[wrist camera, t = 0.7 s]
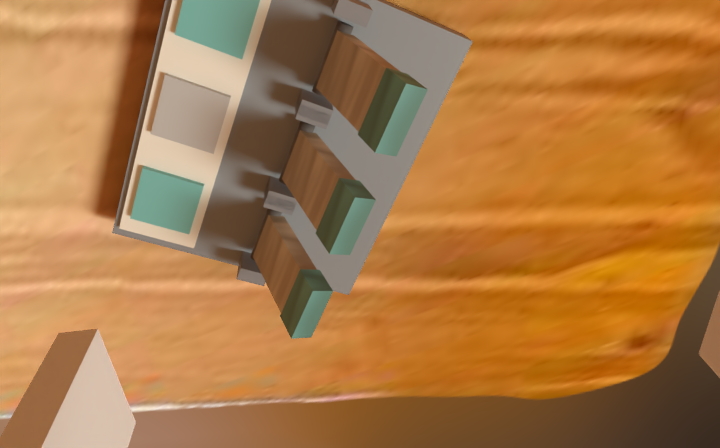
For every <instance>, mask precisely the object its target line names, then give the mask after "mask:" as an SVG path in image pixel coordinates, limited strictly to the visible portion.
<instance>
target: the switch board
mask: <svg viewBox="0 0 720 448" xmlns="http://www.w3.org/2000/svg"><path fill="white" fill-rule="evenodd" d="M338 20H339V21H342V22H345V23H347V24H349V25H351V26H353V30H352V33H351V35H354V36H355V37H357V38H358V39H359V40H361V41H362V42H363V43H364V44H366V45H367V46H368V47H370V48H371V49H372V50H373V51H375V52H376V53H377V54H379V55H380V56H381V57H382V58H384V59H385V60H386V61H388V62H389V63H390V64H391V65H393V66H394V67H395V68H397V69H398V70H399V71H400V72H403V73H407V74H408V75H410V76H411V77H412V78H414V79H415V80H416V81H418V82H419V83H420V84H421V85H423V86H424V87H425V88H427V89H428V90H427V93H426V95H425V97H424V99H423V101H422V103H421V105H420V107H419V110H418V112H417V114H416V116H415V118H414V120H413V122H412V124H411V127H410V129H409V131H408V133H407V135H406V137H405V139H404V141H403V143H402V146H401V148H400V150H399V152H398V154H397V156H390V155H384V154H379V153H375V152H374V151H373V150H372V149H371V148H370V147H369V146H368V145H367V144H366V143H365V142H364V141H363V140H362V139H361V138H360V137H359V136H358V131H357V130H356V129H355V128H354V127H353V126H352V125H351V124H350V122H349V121H348V120H347V119H346V118H345V117H344V116H343V115H342V114H341V113H340V112H339V111H338V110H337V109H336V108H335V107H334V106H333V105H332V104H331V103H330V102H329V101H328V100H327V99H326V98H325V97H323V96H320V95H318V94H316V93H314V92H313V91H312V89H313V86H314V83H315V80H316V78H317V75H318V72H319V70H320V67H321V64H322V62H323V59H324V56H325V53H326V51H327V48H328V45H329V43H330V40H331V37H332V35H333V32H334V29H335V27H336V24H337V21H338ZM472 42H473V41H471V40H470V39H469V38H468V37H466V36H465V35H463V34H461V33H459V32H457V31H454V30H452V29H450V28H447V27H445V26H443V25H440V24H438V23H436V22H433V21H431V20H429V19H427V18H424V17H422V16H420V15H417V14H415V13H413V12H410V11H408V10H406V9H403V8H401V7H399V6H397V5H394V4H392V3H390V2H387V1H385V0H165V3H164V8H163V12H162V17H161V21H160V25H159V30H158V34H157V39H156V43H155V47H154V52H153V56H152V61H151V65H150V69H149V74H148V78H147V83H146V87H145V91H144V96H143V100H142V105H141V109H140V113H139V118H138V122H137V127H136V131H135V135H134V140H133V144H132V149H131V153H130V158H129V162H128V166H127V171H126V175H125V180H124V184H123V188H122V193H121V197H120V202H119V206H118V210H117V215H116V219H115V224H114V228H113V232H112V233H115V234H119V235H122V236H126V237H130V238H134V239H138V240H142V241H145V242H149V243H153V244H157V245H161V246H164V247H168V248H172V249H176V250H180V251H183V252H187V253H191V254H195V255H199V256H202V257H206V258H210V259H214V260H218V261H221V262H225V263H229V264H233V265H237V266H239V267H238V274H237V279H238V280H242V281H246V282H250V283H254V284H258V285H262V286H264V284H265V280H264V278H263V276H262V274H261V272H260V270H259V268H258V266H257V264H256V262H255V261H254V260H252V259H251V257H250V256H251V253H252V250H253V247H254V245H255V242H256V239H257V237H258V234H259V231H260V229H261V226H262V223H263V221H264V218H265V215H266V212H267V210H268V209H272V210H275V211H278V212H282V214H281V216H284V217H285V219H286V220H287V222H288V223H289V225H290V227H291V228H292V230H293V232H294V233H295V235H296V236H297V238H298V240H299V241H300V243H301V244H302V246H303V248H304V249H305V251H306V253H307V254H308V256H309V257H310V259H311V261H312V262H313V264H314V265H315V267H316V269H317V270H320V271H321V272H322V274H323V276H324V277H325V279H326V280H327V282H328V284H329V285H330V287H331V288H332V290H333V291H336V292H339V293H343V294H347V295H349V293H350V291H351V289H352V287H353V285H354V283H355V281H356V279H357V277H358V275H359V273H360V271H361V269H362V267H363V265H364V263H365V260H366V258H367V256H368V254H369V252H370V250H371V248H372V246H373V244H374V242H375V240H376V238H377V236H378V234H379V232H380V230H381V228H382V226H383V224H384V222H385V220H386V218H387V216H388V213H389V211H390V209H391V207H392V205H393V203H394V201H395V199H396V197H397V195H398V193H399V191H400V189H401V187H402V185H403V183H404V181H405V179H406V177H407V175H408V173H409V171H410V168H411V166H412V164H413V162H414V160H415V158H416V156H417V154H418V152H419V150H420V148H421V146H422V144H423V142H424V140H425V138H426V136H427V134H428V132H429V130H430V128H431V126H432V124H433V121H434V119H435V117H436V115H437V113H438V111H439V109H440V107H441V105H442V103H443V101H444V99H445V97H446V95H447V93H448V91H449V89H450V87H451V85H452V83H453V81H454V79H455V77H456V74H457V72H458V70H459V68H460V66H461V64H462V62H463V60H464V58H465V56H466V54H467V52H468V50H469V48H470V46H471V44H472ZM300 121H303V122H306V123H309V124H311V125H314V126H315V129H314V131H313V133H317V135H318V136H319V137H320V138H321V139H322V140H323V142H324V143H325V144H326V145H327V146H328V148H329V149H330V150H331V151H332V152H333V153H334V155H335V156H336V157H337V158H338V159H339V161H340V162H341V163H342V164H343V165H344V166H345V168H346V169H347V170H348V171H349V172H350V174H351V175H352V176H353V177H354V178H355V180H359V181H360V182H361V183H362V184H363V185H364V186H365V188H366V189H367V190H368V191H369V192H370V193H371V195H372V196H373V197H374V198H375V199H376V201H375V203H374V205H373V207H372V209H371V211H370V214H369V216H368V218H367V220H366V222H365V224H364V226H363V228H362V231H361V233H360V235H359V237H358V239H357V241H356V243H355V245H354V248H353V250H352V252H351V254H350V255H336V254H329V253H328V251H327V250H326V248H325V247H324V245H323V244H322V242H321V241H320V239H319V238H318V236H317V235H316V231H317V230H316V229H315V227H314V226H313V224H312V223H311V221H310V220H309V218H308V217H307V215H306V214H305V212H304V211H303V210H302V208H301V207H300V205H299V204H298V202H297V201H296V199H295V198H294V196H293V195H292V193H291V192H290V190H289V189H288V187H287V186H286V185H284V184H282V183H281V182H280V181H279V177H280V175H281V172H282V169H283V167H284V164H285V161H286V159H287V156H288V153H289V150H290V148H291V145H292V142H293V140H294V137H295V134H296V132H297V129H298V126H299V124H300Z"/></svg>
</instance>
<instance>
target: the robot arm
mask: <svg viewBox="0 0 720 448" xmlns="http://www.w3.org/2000/svg"><path fill="white" fill-rule="evenodd" d="M699 355H700V356H701V357H702V358H703V359H704V360H705V362H706V363H707V364H708V365H709V366H710V367H711V369H712V370H713V371H714V372H715V373H716V374H717V375H718V376H719V377H720V291H719V294H718V297H717V301H716V303H715V306H714V309H713V312H712V316H711V319H710V321H709V324H708V327H707V330H706V333H705V336H704V339H703V342H702V345H701V348H700V351H699ZM135 423H136V421H135V419H134V416H133V414H132V412H131V409H130V407H129V404H128V402H127V399H126V397H125V394H124V392H123V389H122V387H121V384H120V382H119V380H118V377H117V375H116V372H115V370H114V367H113V365H112V362H111V360H110V357H109V355H108V352H107V350H106V348H105V345H104V343H103V340H102V338H101V335H100V333H99V330H98V329H91V330H83V331H74V332H65V333H59V334H58V335H57V337H56V339H55V341H54V343H53V344H52V346H51V348H50V350H49V351H48V353H47V355H46V357H45V359H44V360H43V362H42V364H41V366H40V367H39V369H38V371H37V373H36V375H35V376H34V378H33V380H32V382H31V383H30V385H29V387H28V389H27V391H26V392H25V394H24V396H23V398H22V399H21V401H20V403H19V405H18V407H17V408H16V410H15V412H14V414H13V416H12V417H11V419H10V421H9V423H8V425H7V426H6V428H5V430H4V432H3V434H2V435H1V437H0V448H128V445H129V442H130V439H131V436H132V433H133V430H134V426H135Z"/></svg>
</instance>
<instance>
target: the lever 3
mask: <svg viewBox="0 0 720 448" xmlns="http://www.w3.org/2000/svg"><path fill="white" fill-rule="evenodd" d="M281 214H282V212H278V211H275V210H272V209H268V210H267V212H266V215H265V218H264V221H263V223H262V226H261V229H260V231H259V234H258V237H257V239H256V242H255V245H254V247H253V250H252V253H251V256H250V257H251V259H252V260H254V261H255V262H256V264H257V266H258V268H259V270H260V272H261V274H262V276H263V278H264V280H265V282H266V284H267V286H268V288H269V290H270V292H271V294H272V296H273V298H274V300H275V302H276V304H277V306H278V308H279V310H280V312H281V315H280V317H281V319H282V321H283V323H284V325H285V327H286V329H287V331H288V333H289V335H290V337H291V338H308V337H312V335H313V332H314V330H315V328H316V326H317V324H318V322H319V320H320V318H321V316H322V313H323V311H324V309H325V307H326V305H327V303H328V301H329V299H330V296H331V294H332V292H333V290H332V288H331V287H330V285H329V284H328V282H327V280H326V279H325V277H324V276H323V274H322V272H321V271H320V270H317V269H316V267H315V265H314V264H313V262H312V261H311V259H310V257H309V256H308V254H307V253H306V251H305V249H304V248H303V246H302V244H301V243H300V241H299V240H298V238H297V236H296V235H295V233H294V232H293V230H292V228H291V227H290V225H289V223H288V222H287V220H286V219H285V217H284V216H281Z"/></svg>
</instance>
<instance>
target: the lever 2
mask: <svg viewBox="0 0 720 448" xmlns="http://www.w3.org/2000/svg"><path fill="white" fill-rule="evenodd" d="M314 129H315V126H314V125H311V124H309V123H306V122H303V121H300V124H299V126H298V129H297V132H296V134H295V137H294V140H293V142H292V145H291V148H290V150H289V153H288V156H287V159H286V161H285V164H284V167H283V169H282V172H281V175H280V177H279V181H280V182H281V183H282V184H284V185H286V186H287V187H288V189H289V190H290V192H291V193H292V195H293V196H294V198H295V199H296V201H297V202H298V204H299V205H300V207H301V208H302V210H303V211H304V212H305V214H306V215H307V217H308V218H309V220H310V221H311V223H312V224H313V226H314V227H315V229H316V230H317V231H316V235H317V236H318V238H319V239H320V241H321V242H322V244H323V245H324V247H325V248H326V250H327V251H328V253H329V254H336V255H350V254H351V252H352V250H353V248H354V245H355V243H356V241H357V239H358V237H359V235H360V233H361V231H362V228H363V226H364V224H365V222H366V220H367V218H368V216H369V214H370V211H371V209H372V207H373V205H374V203H375V201H376V199H375V198H374V197H373V196H372V195H371V193H370V192H369V191H368V190H367V189H366V188H365V186H364V185H363V184H362V183H361V182H360V181H359V180H355V178H354V177H353V176H352V175H351V174H350V172H349V171H348V170H347V169H346V168H345V166H344V165H343V164H342V163H341V162H340V161H339V159H338V158H337V157H336V156H335V155H334V153H333V152H332V151H331V150H330V149H329V148H328V146H327V145H326V144H325V143H324V142H323V140H322V139H321V138H320V137H319V136H318V135H317V133H313V131H314Z"/></svg>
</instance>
